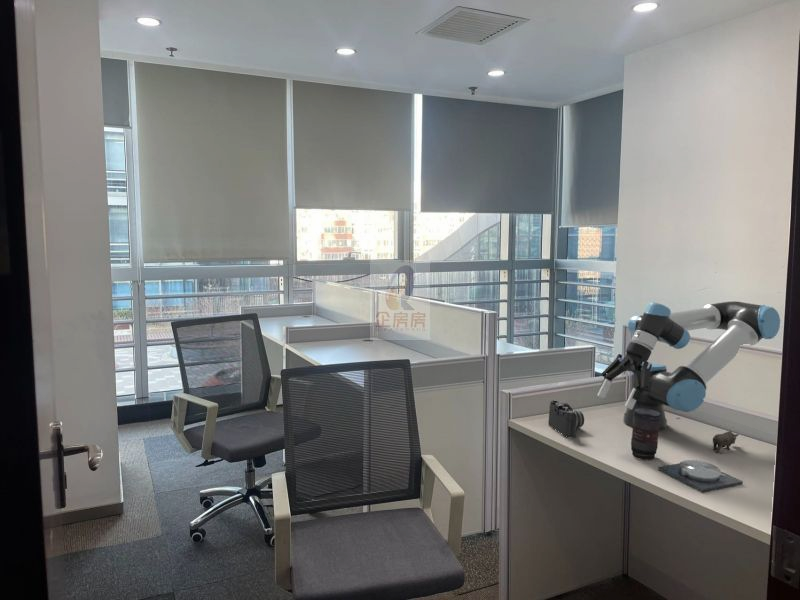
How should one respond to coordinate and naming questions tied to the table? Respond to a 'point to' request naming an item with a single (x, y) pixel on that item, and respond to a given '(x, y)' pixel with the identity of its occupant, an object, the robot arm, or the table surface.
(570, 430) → the camera
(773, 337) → the robot arm
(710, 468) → the mount
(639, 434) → the camera lens
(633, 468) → the table surface
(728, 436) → the rhino figurine
